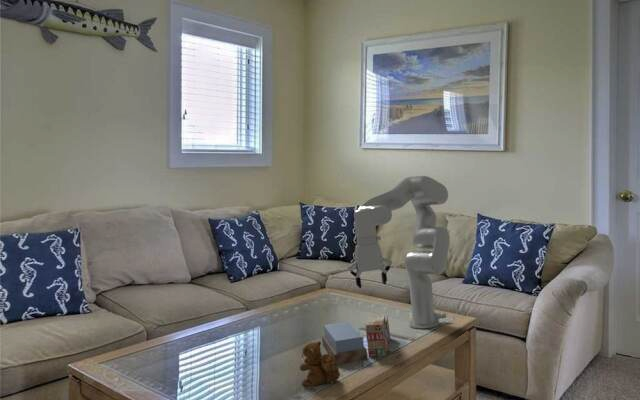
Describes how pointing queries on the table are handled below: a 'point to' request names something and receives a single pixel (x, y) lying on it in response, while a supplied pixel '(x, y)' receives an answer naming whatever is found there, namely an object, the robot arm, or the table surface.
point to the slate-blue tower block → (343, 337)
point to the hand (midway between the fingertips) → (372, 285)
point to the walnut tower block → (345, 354)
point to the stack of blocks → (377, 335)
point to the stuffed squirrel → (318, 366)
